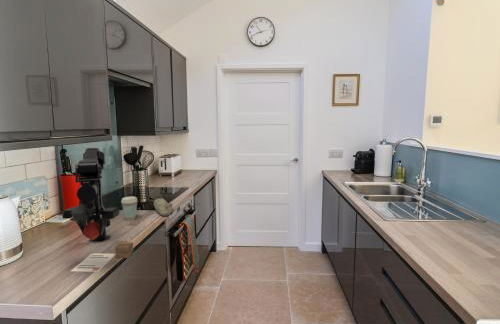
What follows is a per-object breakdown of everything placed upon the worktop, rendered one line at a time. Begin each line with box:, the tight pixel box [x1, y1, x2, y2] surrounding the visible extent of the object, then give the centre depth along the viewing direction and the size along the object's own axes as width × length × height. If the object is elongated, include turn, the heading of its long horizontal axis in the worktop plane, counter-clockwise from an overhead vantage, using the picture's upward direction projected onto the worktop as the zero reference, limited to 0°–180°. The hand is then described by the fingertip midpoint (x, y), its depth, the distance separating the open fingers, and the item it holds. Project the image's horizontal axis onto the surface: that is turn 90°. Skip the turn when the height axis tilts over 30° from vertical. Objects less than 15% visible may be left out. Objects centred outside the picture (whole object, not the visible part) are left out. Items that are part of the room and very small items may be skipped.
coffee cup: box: [120, 195, 138, 221], centre depth 157 cm, size 8×8×12 cm
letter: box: [70, 253, 116, 273], centre depth 107 cm, size 14×10×1 cm
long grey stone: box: [153, 197, 174, 217], centre depth 177 cm, size 35×5×10 cm
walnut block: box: [114, 241, 134, 259], centre depth 113 cm, size 5×5×5 cm
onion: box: [84, 220, 100, 240], centre depth 106 cm, size 6×6×8 cm
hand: (92, 234), depth 106 cm, fingers closed on onion, 6 cm apart
